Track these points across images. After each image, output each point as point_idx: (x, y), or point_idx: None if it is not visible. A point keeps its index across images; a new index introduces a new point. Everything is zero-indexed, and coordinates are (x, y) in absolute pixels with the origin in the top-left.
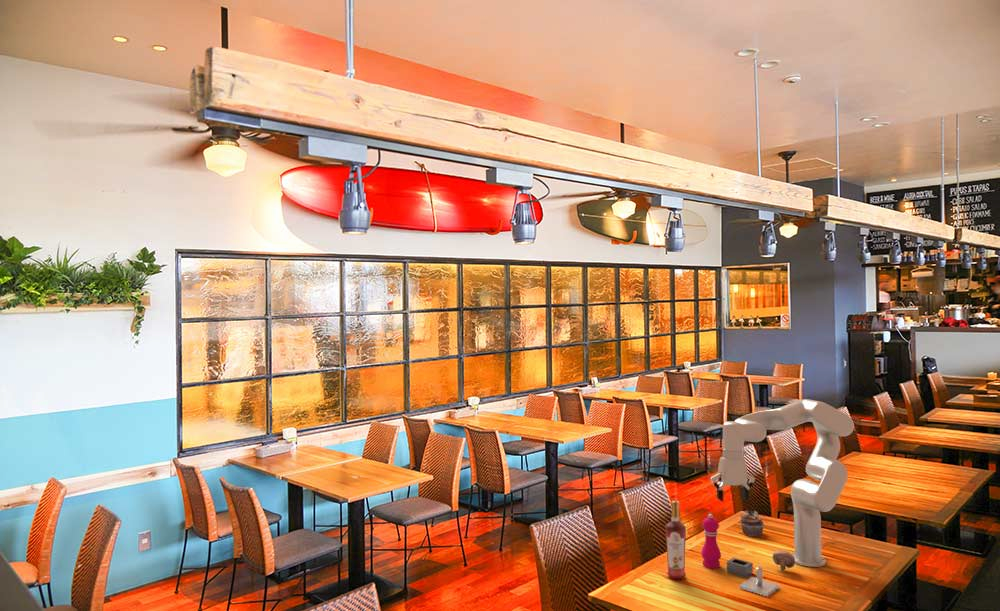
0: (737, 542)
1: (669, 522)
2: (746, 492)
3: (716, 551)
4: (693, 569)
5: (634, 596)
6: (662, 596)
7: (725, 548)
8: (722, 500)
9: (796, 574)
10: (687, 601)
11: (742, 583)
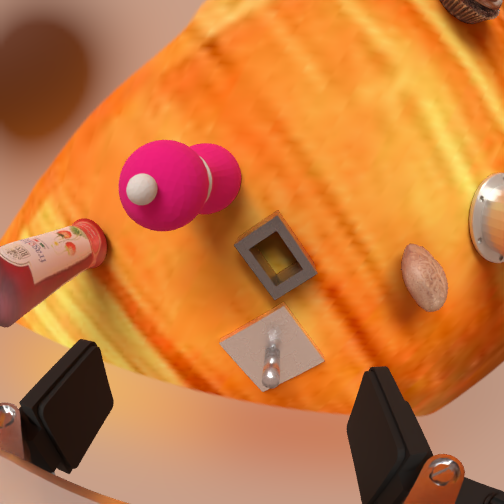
0: (396, 27)
1: None
2: (365, 491)
3: (207, 211)
4: None
5: None
6: (54, 321)
7: (336, 53)
8: (107, 406)
9: None
10: None
11: (232, 337)
